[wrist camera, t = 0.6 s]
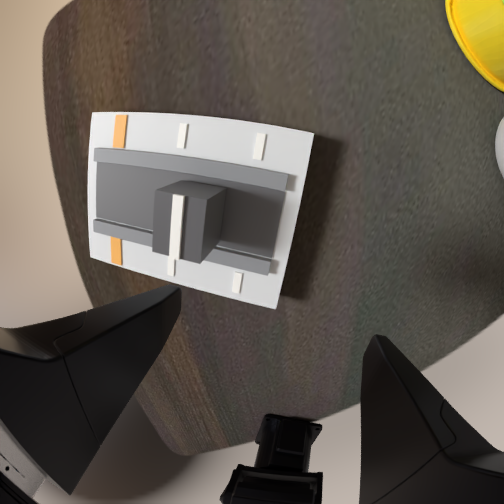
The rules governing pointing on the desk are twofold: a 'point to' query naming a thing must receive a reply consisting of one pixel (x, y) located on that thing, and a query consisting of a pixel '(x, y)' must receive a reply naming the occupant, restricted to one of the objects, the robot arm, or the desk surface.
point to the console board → (201, 171)
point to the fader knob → (187, 220)
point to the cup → (500, 146)
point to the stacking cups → (480, 35)
